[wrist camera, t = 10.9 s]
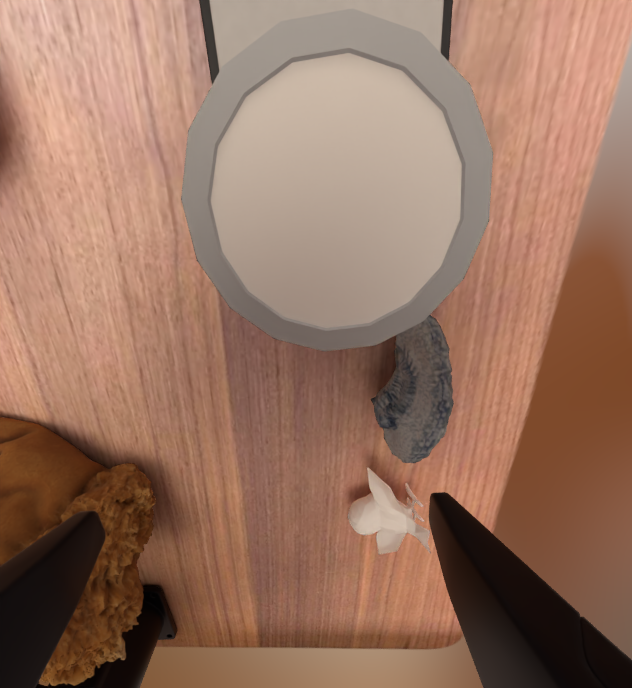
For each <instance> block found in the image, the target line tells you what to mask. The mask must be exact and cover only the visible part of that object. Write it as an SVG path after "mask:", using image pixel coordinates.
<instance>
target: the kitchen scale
mask: <svg viewBox="0 0 632 688" xmlns="http://www.w3.org/2000/svg"><path fill="white" fill-rule="evenodd" d="M199 1H200V8H201V15H202V21H203V28H204V35H205V41H206V48H207V55H208V61H209V68H210V75H211V81H212V85H213V83H214V81H215V79H216V77H217V75H218V73H219V71H220V70H221V68H222V66H223V65H225V64H226V63H227V62H229V61H230V60H231V59H232V58H234V57H235V56H236V55H238V54H239V53H240V52H241V51H243V50H244V49H245V48H247V47H248V46H249V45H250V44H252V43H253V42H254V41H256V40H257V39H258V38H260V37H261V36H262V35H263V34H265V33H266V32H267V31H269V30H270V29H271V28H272V27H274V26H275V25H276V24H278V23H279V22H280V21H285V20H290V19H296V18H302V17H307V16H313V15H318V14H324V13H329V12H335V11H341V10H346V9H352V8H353V9H356V10H359V11H361V12H364V13H367V14H370V15H373V16H376V17H379V18H382V19H385V20H387V21H390V22H393V23H396V24H399V25H402V26H405V27H408V28H410V29H413V30H416V31H419V32H421V33H422V34H423V35H424V36H425V37H426V38H427V39H428V40H429V41H430V42H431V43H432V44H433V46H434V47H435V48H436V49H437V50H438V51H439V52H440V53H441V54H442V55H443V56H444V57H445V58H446V59H447V61H448V62H449V47H450V33H451V18H452V4H453V0H199Z"/></svg>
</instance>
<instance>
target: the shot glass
mask: <svg viewBox="0 0 632 688" xmlns="http://www.w3.org/2000/svg"><path fill="white" fill-rule="evenodd" d="M492 162H493V151H492V148H491V145H490V142H489V139H488V136H487V133H486V130H485V127H484V124H483V121H482V118H481V115H480V112H479V109H478V106H477V103H476V100H475V97H474V94H473V91H472V88H471V85H470V84H469V83H468V82H467V81H466V80H465V79H464V78H463V77H462V76H461V74H460V73H459V72H458V71H457V70H456V69H455V68H454V67H453V66H452V65H451V64H450V63H449V62H448V61H447V59H446V58H445V57H444V56H443V55H442V54H441V53H440V52H439V51H438V50H437V49H436V48H435V47H434V46H433V44H432V43H431V42H430V41H429V40H428V39H427V38H426V37H425V36H424V35H423V34H422V33H421V32H419V31H416V30H413V29H410V28H408V27H405V26H402V25H399V24H396V23H393V22H390V21H387V20H385V19H382V18H379V17H376V16H373V15H370V14H367V13H364V12H361V11H359V10H356V9H353V8H352V9H346V10H341V11H335V12H329V13H324V14H318V15H313V16H307V17H302V18H296V19H290V20H285V21H280V22H279V23H278V24H276V25H275V26H274V27H272V28H271V29H270V30H269V31H267V32H266V33H265V34H263V35H262V36H261V37H260V38H258V39H257V40H256V41H254V42H253V43H252V44H250V45H249V46H248V47H247V48H245V49H244V50H243V51H241V52H240V53H239V54H238V55H236V56H235V57H234V58H232V59H231V60H230V61H229V62H227V63H226V64H225V65H223V66H222V68H221V70H220V71H219V73H218V75H217V77H216V79H215V81H214V83H213V85H212V87H211V89H210V90H209V92H208V94H207V96H206V98H205V100H204V102H203V104H202V106H201V108H200V109H199V111H198V113H197V115H196V117H195V119H194V121H193V123H192V125H191V126H190V128H189V130H188V138H187V148H186V158H185V167H184V177H183V187H182V196H181V200H182V204H183V208H184V212H185V216H186V219H187V223H188V227H189V231H190V235H191V239H192V242H193V246H194V250H195V254H196V258H197V261H198V262H199V264H200V265H201V267H202V268H203V270H204V271H205V272H206V274H207V275H208V277H209V278H210V280H211V281H212V283H213V284H214V285H215V287H216V288H217V290H218V291H219V293H220V294H221V296H222V297H223V298H224V300H225V301H226V303H227V304H228V306H229V307H230V308H231V309H232V310H234V311H235V312H237V313H238V314H239V315H241V316H242V317H244V318H245V319H247V320H248V321H249V322H251V323H252V324H254V325H255V326H257V327H258V328H260V329H261V330H262V331H264V332H265V333H267V334H268V335H270V336H271V337H272V338H274V339H277V340H281V341H285V342H289V343H293V344H297V345H301V346H305V347H309V348H313V349H317V350H321V351H332V350H341V349H350V348H359V347H367V346H376V345H378V344H380V343H382V342H384V341H386V340H388V339H390V338H391V337H393V336H395V335H397V334H399V333H401V332H403V331H405V330H407V329H409V328H411V327H413V326H415V325H417V324H419V323H421V322H423V321H424V320H425V319H426V318H427V317H428V316H429V315H430V314H431V313H432V312H433V311H434V310H435V309H436V308H437V307H438V305H439V304H440V303H441V302H442V301H443V300H444V299H445V298H446V297H447V296H448V295H449V294H450V293H451V292H452V291H453V290H454V288H455V287H456V286H457V285H458V284H459V283H460V282H461V281H462V280H463V279H464V277H465V274H466V272H467V270H468V268H469V265H470V263H471V261H472V258H473V256H474V254H475V252H476V249H477V247H478V245H479V243H480V240H481V238H482V236H483V233H484V231H485V229H486V227H487V224H488V222H489V211H490V195H491V179H492Z"/></svg>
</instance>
